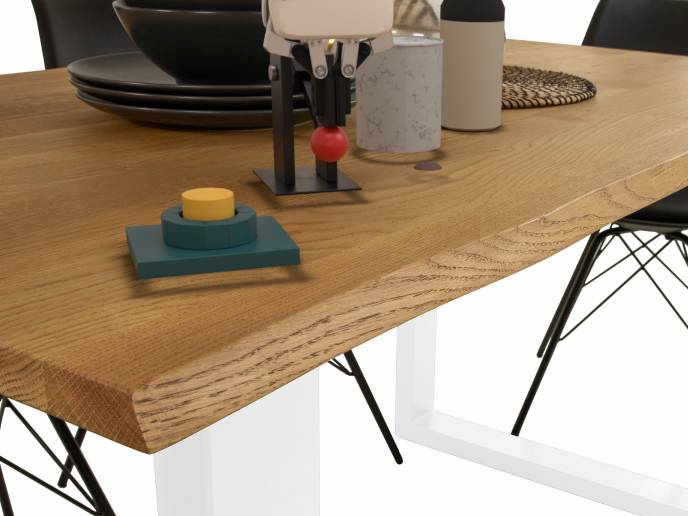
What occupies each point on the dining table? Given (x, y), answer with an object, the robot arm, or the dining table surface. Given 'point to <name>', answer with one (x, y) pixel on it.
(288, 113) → the bracket
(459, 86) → the travel mug
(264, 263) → the control block
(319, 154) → the lever
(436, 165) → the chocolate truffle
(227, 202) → the button
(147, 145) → the dining table surface
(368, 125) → the white marbled canister
